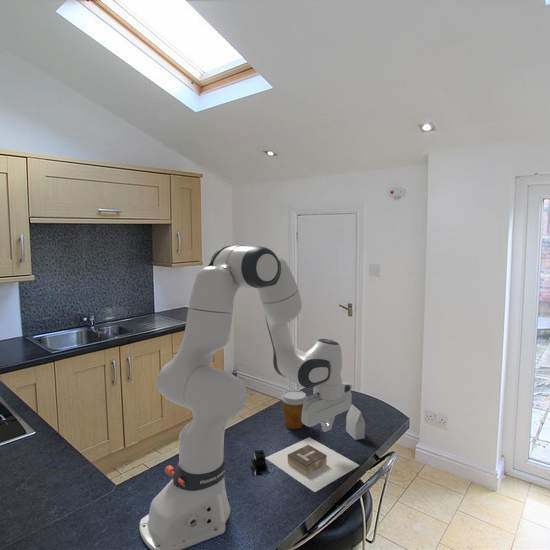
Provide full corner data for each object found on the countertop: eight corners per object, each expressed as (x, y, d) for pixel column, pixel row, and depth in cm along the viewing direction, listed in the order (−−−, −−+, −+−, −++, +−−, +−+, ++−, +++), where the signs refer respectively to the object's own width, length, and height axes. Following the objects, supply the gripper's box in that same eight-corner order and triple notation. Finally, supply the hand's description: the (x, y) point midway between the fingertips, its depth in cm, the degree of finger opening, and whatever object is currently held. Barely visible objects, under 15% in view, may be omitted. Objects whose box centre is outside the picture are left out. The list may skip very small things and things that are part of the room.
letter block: (326, 464, 126) (305, 475, 120) (308, 453, 132) (287, 463, 126) (326, 455, 126) (306, 466, 120) (308, 444, 132) (287, 454, 126)
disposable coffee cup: (311, 423, 152) (311, 393, 151) (298, 434, 144) (299, 402, 143) (289, 417, 158) (289, 387, 156) (276, 427, 150) (276, 396, 148)
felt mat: (314, 492, 113) (314, 492, 113) (264, 458, 129) (264, 457, 129) (359, 465, 126) (359, 465, 126) (309, 437, 142) (309, 437, 142)
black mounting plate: (274, 478, 120) (274, 463, 119) (249, 481, 119) (249, 466, 118) (267, 455, 132) (267, 442, 132) (245, 457, 131) (245, 444, 130)
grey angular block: (354, 440, 141) (355, 413, 139) (345, 431, 147) (346, 404, 146) (364, 438, 142) (365, 411, 141) (355, 429, 148) (355, 403, 147)
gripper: (311, 401, 120) (311, 445, 122) (355, 383, 133) (354, 423, 135) (296, 394, 125) (296, 437, 127) (340, 378, 138) (339, 416, 140)
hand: (326, 429), depth 131 cm, fingers closed
